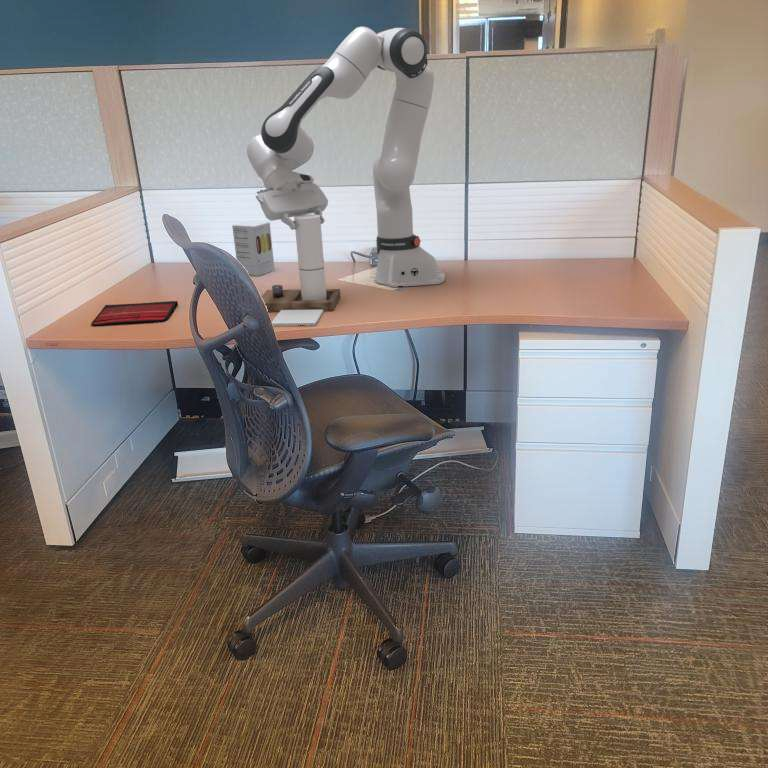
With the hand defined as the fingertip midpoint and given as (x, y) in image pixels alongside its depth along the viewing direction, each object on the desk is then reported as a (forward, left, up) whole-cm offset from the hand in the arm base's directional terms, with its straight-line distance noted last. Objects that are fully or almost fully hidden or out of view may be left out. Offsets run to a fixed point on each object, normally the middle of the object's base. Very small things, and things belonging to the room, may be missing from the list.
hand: (308, 225), depth 186 cm
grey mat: (+2, +14, -23) cm, 27 cm away
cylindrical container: (0, 0, -23) cm, 23 cm away
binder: (+50, +9, -23) cm, 56 cm away
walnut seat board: (+5, 0, -23) cm, 23 cm away
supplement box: (+28, -40, -23) cm, 54 cm away
